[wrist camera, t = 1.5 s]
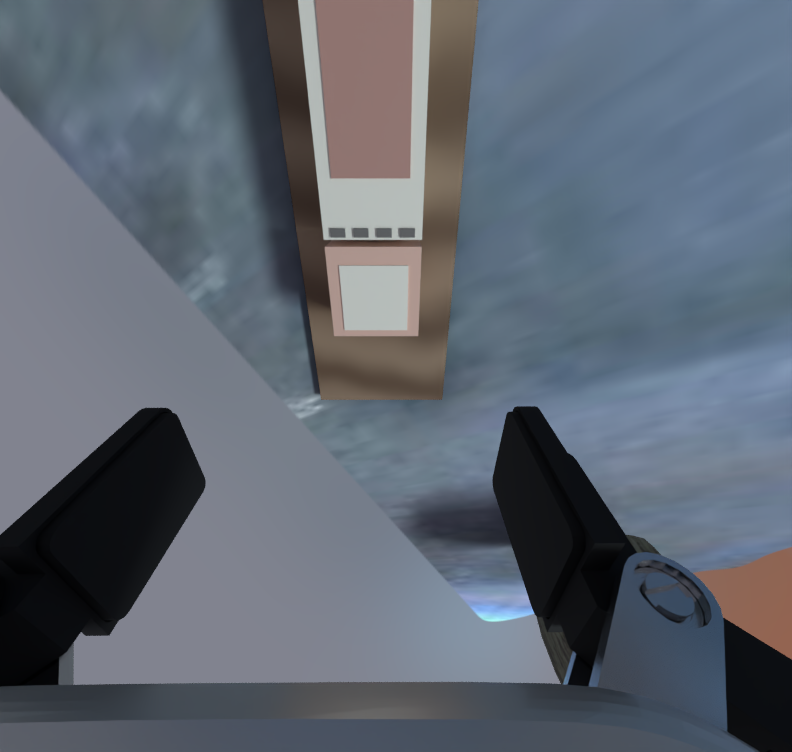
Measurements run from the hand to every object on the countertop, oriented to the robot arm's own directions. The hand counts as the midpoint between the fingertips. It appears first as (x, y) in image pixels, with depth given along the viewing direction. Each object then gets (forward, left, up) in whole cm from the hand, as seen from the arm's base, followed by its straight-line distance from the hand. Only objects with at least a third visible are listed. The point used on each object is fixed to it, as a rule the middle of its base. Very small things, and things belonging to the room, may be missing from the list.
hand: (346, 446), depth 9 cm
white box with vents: (-11, 0, -20) cm, 23 cm away
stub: (0, 0, -19) cm, 19 cm away
